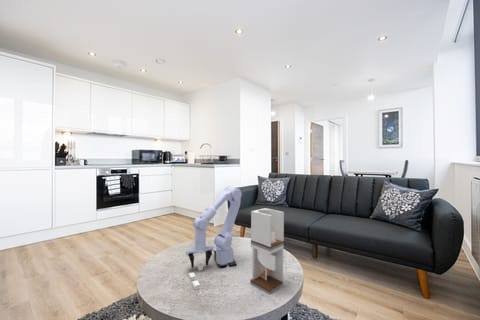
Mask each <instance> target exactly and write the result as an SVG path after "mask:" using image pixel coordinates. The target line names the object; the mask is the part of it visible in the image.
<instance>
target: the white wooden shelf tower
mask: <svg viewBox="0 0 480 320" xmlns="http://www.w3.org/2000/svg"><path fill="white" fill-rule="evenodd" d="M250 213H251V214H250V217H251V218H250V220H251V221H250V225H251V226H250V248H251V250H252V252H251V253H252V254H251V255H252V256H251V258H252V259H251V279H250V280H249V281H250V285H251V286H253V287H254V288H256V289H258V290H260V291H262V292H263V293H266V294H267V295H270V294H272V293H274V292H275V291H276V290H278V289H280V288H281V287H283V286H284V246H285V245H284V241H285V239H284V237H285V235H284V234H285V233H284V232H285V230H284V229H285V212H284V211H281V210H276V209H272V208H264V207H263V208H260V209H256V210H251V212H250ZM282 285H283V286H282Z"/></svg>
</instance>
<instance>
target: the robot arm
mask: <svg viewBox="0 0 480 320" xmlns="http://www.w3.org/2000/svg"><path fill="white" fill-rule="evenodd" d="M242 196H243V193H242V191H241V189H240V188H238V187H233V186H232V187H231V186H226V187H225V188H224V189H223V190H222V191H221V193H220V195H219V197H217V199H216V200H215V201H214V203H213V204H212V205H211V206H208V207H205V209H204V211H203V212H202V213H201V214H200V215H199V216H198V217H196V218H195V219H194V221H193V223H192V225H193V227H194V247H192V248H190V249H186V250H185V255H186V256H188V259H189V260H190V266H191V269H194V268H195V265H194V264H195V263H194V261H195V255H194V254H204V253H205V265H206V266H207V267H208V266H209V261H210V260H211V258H212V255H213V252H214V251H215V250H214V249H215V248H216V253H215V254H216V255H215V259H216V260H215V261H216V264H218V265H227V264H230V263H234V250H233V247H232V244H233V242H232V240H233V236H232V235H233V234H232V230H233V227H234V224H235V221H236V218H237V216H238V213H239V209H240V206H241V199H242ZM226 201H229V203H230V205H229V207H228V211H227V214H226V216H225V217H226V218H225V219H224V222H223V225H222V229H221V230H219V231H218V233H217V234H216V236H215V237H214V241H213V243H214V245H215V247H214V246H207V244H206V242H207V241H206V240H207V239H206V238H207V235H206V234H207V228H208V227H209V223H210V221H211V220H212V219H213V218H214V217H215V216H216V215H217V211H218V209H220V207H221V206H222V205H223V204H224V203H225V202H226Z"/></svg>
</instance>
